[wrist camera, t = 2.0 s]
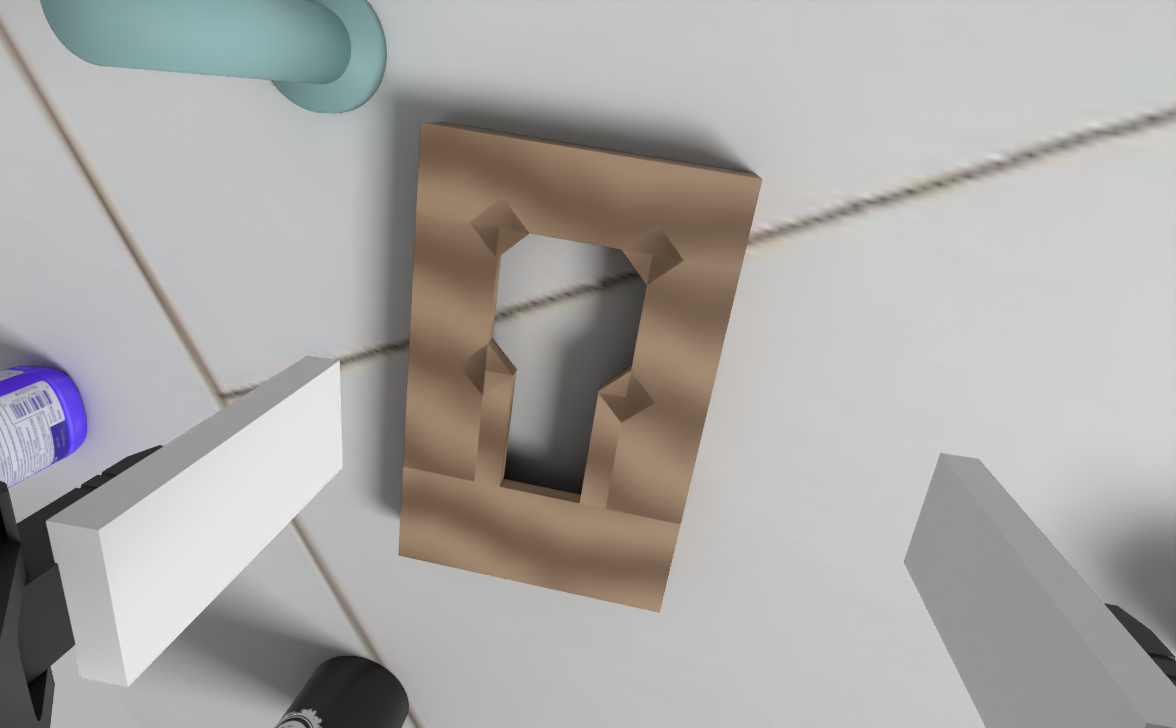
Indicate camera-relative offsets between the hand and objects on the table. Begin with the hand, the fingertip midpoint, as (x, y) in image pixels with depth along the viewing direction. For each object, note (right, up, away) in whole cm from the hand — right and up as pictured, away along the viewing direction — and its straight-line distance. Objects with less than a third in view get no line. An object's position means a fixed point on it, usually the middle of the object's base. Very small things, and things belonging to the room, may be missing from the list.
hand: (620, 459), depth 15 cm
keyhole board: (-2, +1, +28) cm, 28 cm away
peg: (-15, +20, +23) cm, 34 cm away
